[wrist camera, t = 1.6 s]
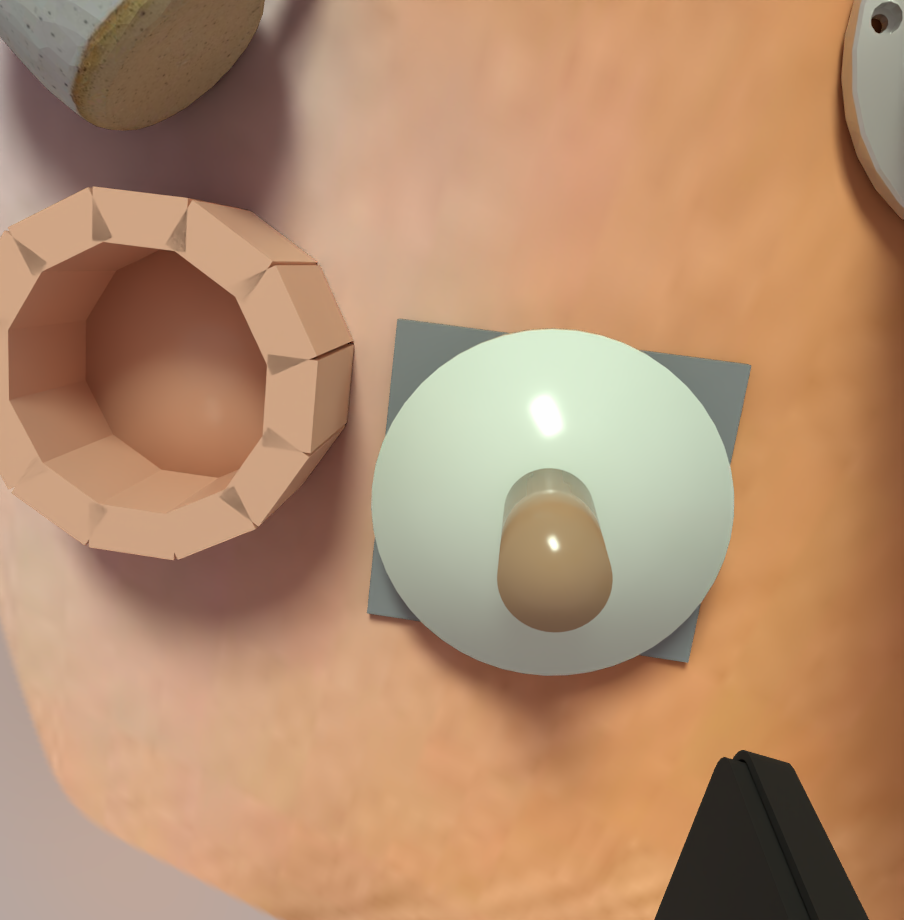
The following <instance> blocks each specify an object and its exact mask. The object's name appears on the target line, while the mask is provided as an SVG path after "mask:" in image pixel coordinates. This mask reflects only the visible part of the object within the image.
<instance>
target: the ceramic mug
mask: <svg viewBox="0 0 904 920" xmlns="http://www.w3.org/2000/svg"><path fill="white" fill-rule="evenodd" d="M264 1H265V0H0V37H1V38H2V39H3V41H4V42H5V43H6V44H7V45H8V46H9V47H10V49H11V50H12V51H13V52H14V53H15V54H16V55H17V57H18V58H19V59H20V60H21V61H22V62H23V63H24V64H25V66H26V67H27V68H28V69H29V70H30V71H31V72H32V73H33V74H34V76H35V77H36V78H37V79H38V80H39V81H40V82H41V83H42V84H43V85H44V86H45V87H46V88H47V89H48V90H49V91H50V92H51V93H53V94H54V95H55V96H56V97H57V98H58V99H60V100H61V101H62V102H63V103H64V104H66V105H67V106H68V107H69V108H71V109H72V110H73V111H74V112H75V113H77V114H78V115H79V116H81V117H82V118H83V119H85V120H86V121H88V122H90V123H92V124H93V125H95V126H98V127H102V128H106V129H110V130H137V129H141V128H144V127H148V126H151V125H154V124H156V123H158V122H160V121H162V120H165V119H167V118H169V117H171V116H173V115H175V114H176V113H178V112H180V111H181V110H183V109H184V108H186V107H188V106H189V105H190V104H191V103H193V102H194V101H195V100H196V99H198V98H199V97H200V96H201V95H203V94H204V93H205V92H207V91H208V90H209V89H210V88H212V87H213V86H214V85H215V84H216V82H217V81H218V80H219V79H220V78H221V77H222V76H223V75H224V74H225V73H226V72H227V71H228V70H229V69H230V68H231V67H232V66H233V64H234V63H235V62H236V61H237V59H238V58H239V57H240V56H241V54H242V53H243V52H244V50H245V49H246V48H247V46H248V44H249V42H250V41H251V39H252V37H253V35H254V34H255V32H256V30H257V27H258V25H259V22H260V20H261V17H262V15H263V9H264Z"/></svg>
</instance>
